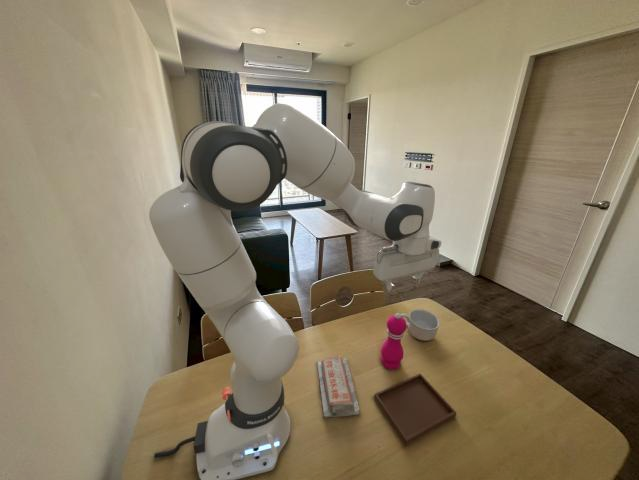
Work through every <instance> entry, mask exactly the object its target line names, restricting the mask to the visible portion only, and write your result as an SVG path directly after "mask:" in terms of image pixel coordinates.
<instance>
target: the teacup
mask: <svg viewBox="0 0 639 480" xmlns="http://www.w3.org/2000/svg"><path fill="white" fill-rule="evenodd" d="M400 315H401V317H402V318H406V321H407V322H406V325H407V327H406V329H407V330H408V332H409V334H410V335H411V336H412V337H414V339H416V340H419V341H424V342H427V341H431V340H433V339H434V338H435V337H436V336H437V333H438V331H439V327H440V324H441V323H440V319H439V317H437V315H436V314H435V313H433V312H431V311H429V310H426V309H423V308H422V309H420V308H416V309H413V310H411V311H410V312H409V314H407V313H405V312H404V313H401V314H400Z"/></svg>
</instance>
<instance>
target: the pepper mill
mask: <svg viewBox="0 0 639 480" xmlns="http://www.w3.org/2000/svg"><path fill="white" fill-rule="evenodd" d="M406 321H407V320H405V318H404V317H401V314H400V313H399V312H397V313H395V314H393V315H391V316H389V317H388V318H387V320H386V328H387V329H386V334H387V338H386V340H385V341H384V342H383V343H382V345H381V348H380V354H381V357H380V362H381V364H382V365H383V367H385V368H386V369H388V370H391V371H395V370H398V369H399V368H400V367H401V364H402V363H401V362H402V360H403V359H404V347H403V346H402V344H401V343H402V342H401V341H402V339H403V338H404V333H405V332H406V331H407V328H406V327H407V325H406V323H407V322H406Z"/></svg>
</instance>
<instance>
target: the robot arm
mask: <svg viewBox="0 0 639 480" xmlns="http://www.w3.org/2000/svg"><path fill="white" fill-rule="evenodd" d="M355 161H356V160H355V158H354V156H353V154H352V153H351V151H350V150H349V148H348V147H347V146H346V145H345V143H343V141H342V140H340V139H339V138H338V137H337V136H336V135H335V134H334V133H333V132H332V131H330V129H329V128H327V127H326V126H325V125H324V124H322V123H321V122H320V121H318V120H317V119H315V118H314V117H313V116H311V115H310V114H308V113H306V111H303V110H302V109H300V108H298V107H297V106H295V105H293V104H291V103H288V102H277V103H273V104H271V105H270V106H269V107H267V108H266V109H265V110H264V111H263V112H261V114H260V115H259V117H258V118H257V120H256V122H255V124H253V126H246V125H239V124H235V123H232V122H229V121H224V120H215V121H207V122H201V123H200V124H199V123H198V124H197V125H196V126H194V127H192V128H191V129H190V130H189V131H188V133H186V135H185V137H184V139H183V141H182V145H181V150H180V170H179V178H180V181H181V182H182V183H181V184H180V185H178V186H176V187H173V188H172V189H171V188H170V189H169V190H167V191H165V192H164V193H162V194H161V195H160V196H159V197H157V198H156V199H155V200H154V202H152V204H151V206H150V209H149V213H148V219H149V222H150V225H151V227H152V230H153V233H154V235H155V237H156V239H157V241H158V244H159V246H160V248H161V249H162V252H163V253H164V256H165V257H166V259H167V260H168V263H170V265H171V266H172V268H173V270H174V271H175V272H176V274H177V275H178V277H179V278H180V279H181V281H182V282H183V284H184V285H185V287H186V289H188V291H189V293H190V294H191V295H192V297H193V298H194V300H195V301H196V302H197V304H198V306H199V307H200V308H201V309H202V311H204V313H205V314H206V316H207V317H208V318H209V320H210V321H211V322H212V324H213V325H214V327H215V328H216V330H217V332H218V333H219V334H220V336H221V338H222V339H223V341H224V342H225V344H226V345H227V348H228V349H229V351H230V353H231V356H232V357H233V361H234V362H233V364H232V365H231V368H230V370H229V379H230V385H231V387H229V386H226V387H224V388H222V390H221V395H222V397H221V398H222V400H224V401H225V402H224V403H223V404H222V405H220V406H219V407H218V408H217V409H215V410H213V412H211V414H210V416H209V418H208V420H205V421H202V422H198V423H197V425H196V432H195V435H194V436H192V437H188V438H185V439H183V440H182V441H180V442H178V444H177V445H176V446H175V447H174V448H172V449H169V450H163V451H159V452H158V451H157V452H155V453H154V455H153V458H155V459H156V458H161V457H167V456H171V455H173V454H175V453H177V452H179V450H180V448H181V447H182V446H185V445H187V444H190V443H192V442H193V450H194V453H195V455H196V456H195V457H196V459H195V460H196V469H197V475H198V477H199V479H200V480H240V479H245V478H248V477H251V476H256V475H260V474H263V473H267V472H270V471H273V470H274V469H275V468H276V465H277V462H278V460H279V459H278V458H279V455H280V453H281V451H282V450H283V448H284V447H285V446H286V443H287V442H288V440H289V436H290V433H291V419H290V416H289V413H288V411H287V410H286V408H285V399H286V398H285V387H284V384H283V381H282V378H283V377H285V375H287V374H288V373H289V372H290V371H291V370H292V368H293V367H294V365H295V363H296V361H297V358H298V356H299V352H300V343H299V340H298V338H297V336H296V334H295V333H294V331H293V329H292V328H291V326H290V324H289V323H288V322H287V320H285V319H284V318H283V317H282V316H281V315H280V314H279V313H278V312H277V311H276V310H275V309H274V308H273V307H272V306H271V304H269V303H268V302H267V301H266V299H265V298H264V297H263V296H262V295H261V293H260V291H259V290H258V288H257V284H256V281H257V272H256V270H255V267H254V265H253V263H252V260H251V259H250V257H249V254H248V253H247V250H246V248H245V246H244V243H243V241H242V239H241V238H240V237H241V236H240V235H239V233H238V231H237V230H236V227H235V225H234V223H233V219H232V211H233V212H245V211H250V210H253V209H255V208H257V207H259V206H260V205H262V204H264V202H266V201H267V200H268V199H269V198H270V196H271V195H272V194H273V193H274V191H275V190H276V189H277V186H278V185H279V184H280V183H281V182H282V181H283V180H284V179H285V180H286V181H287V182H289V183H290V184H292V185H294V186H295V187H296V188H298V189H300V190H301V191H303V192H304V193H307V194H309V195H311V196H313V197H316V198H318V199H320V200H323V201H328V202H329V201H330V202H331V203H333V204H334V205H336V206H337V207H338V208H340V209H341V210H342V211H343V212H344V214H345V216H346V218H347V220H348V222H349V223H350V224H351V225H352V226H354V227H356V228H359V229H361V230H365V231H367V232H369V233H372V234H373V235H376V236H379V237H381V238H384V239H385V240H388V241H392V245H389V246H384V247H381V249H380V250H378V252H377V253H376V257H375V261H374V264H373V269H372V274H373V276H374V277H375V278H376V279H377V280H379V281H380V282H384V283H385V284H386V285H385V289H386V290H387V291H388V292H391V291H394V290H395V284H393V279H397V278H400V277H401V278H402V277H404V276H409V275H412V274H414V275H413V276H412V277H411V282H412V283H413V284H414V285H417V284H420V282H421V279H422V277H423V276H424V274H425V272H426V271H429V270H433V269H434V268H435V267H436V266H437V264H438V261H439V257H440V248H441V246H442V240H439V239H438V238H436V237H434V236H432V235H430V225H431V222H432V220H433V216H434V210H435V203H436V202H435V201H436V199H435V198H436V193H435V188H434V187H433V186H432V185H430V184H427V183H421V182H415V181H405V182H403V183H402V186H401V188H400V190H399V191H398V192H397V193H396V194H394V195H393V196H391V197H387V196H384V195H380V194H377V193H374V192H371V191H368V190H363V189H362V190H360V189H358V188H357V187H356V186H355V185H353V184H352V181H353V179H354V175H355V170H356V162H355ZM231 391H232V393H231ZM264 464H265V465H264Z"/></svg>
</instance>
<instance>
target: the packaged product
mask: <svg viewBox="0 0 639 480" xmlns="http://www.w3.org/2000/svg"><path fill="white" fill-rule="evenodd" d="M317 373H318V379H319V386H320V396H321V403H322V404H321V405H322V410H323V418H324V419H328V418H329V419H330V418H339V417H348V416H358V415H360V410H361V408H360V406H359V402H358V398H357V394H356V389H355V386H354V381H353V378H352V374H351V371H350V366H349V363H348V359H347V358H346V357H344V358H343V356H342V355H333V356H330V357H325V358H324V359H322V360H320V361H319V360H318V361H317Z"/></svg>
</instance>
